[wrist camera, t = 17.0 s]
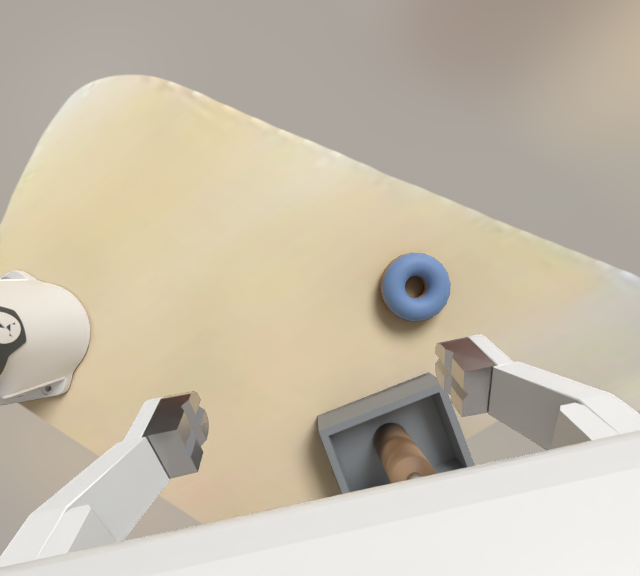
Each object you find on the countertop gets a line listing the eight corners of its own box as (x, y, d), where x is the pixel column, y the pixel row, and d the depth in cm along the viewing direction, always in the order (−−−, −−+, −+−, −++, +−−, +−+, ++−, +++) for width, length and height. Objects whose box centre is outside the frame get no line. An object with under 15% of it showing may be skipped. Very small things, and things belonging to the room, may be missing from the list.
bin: (350, 503, 45) (355, 529, 40) (317, 416, 45) (318, 431, 40) (461, 458, 46) (479, 479, 41) (428, 372, 46) (443, 382, 41)
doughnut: (420, 334, 46) (433, 335, 41) (364, 297, 46) (371, 294, 41) (453, 279, 47) (469, 275, 42) (398, 244, 47) (408, 236, 43)
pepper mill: (381, 464, 45) (407, 519, 33) (367, 431, 45) (388, 475, 34) (413, 449, 45) (449, 499, 34) (399, 416, 45) (430, 455, 34)
